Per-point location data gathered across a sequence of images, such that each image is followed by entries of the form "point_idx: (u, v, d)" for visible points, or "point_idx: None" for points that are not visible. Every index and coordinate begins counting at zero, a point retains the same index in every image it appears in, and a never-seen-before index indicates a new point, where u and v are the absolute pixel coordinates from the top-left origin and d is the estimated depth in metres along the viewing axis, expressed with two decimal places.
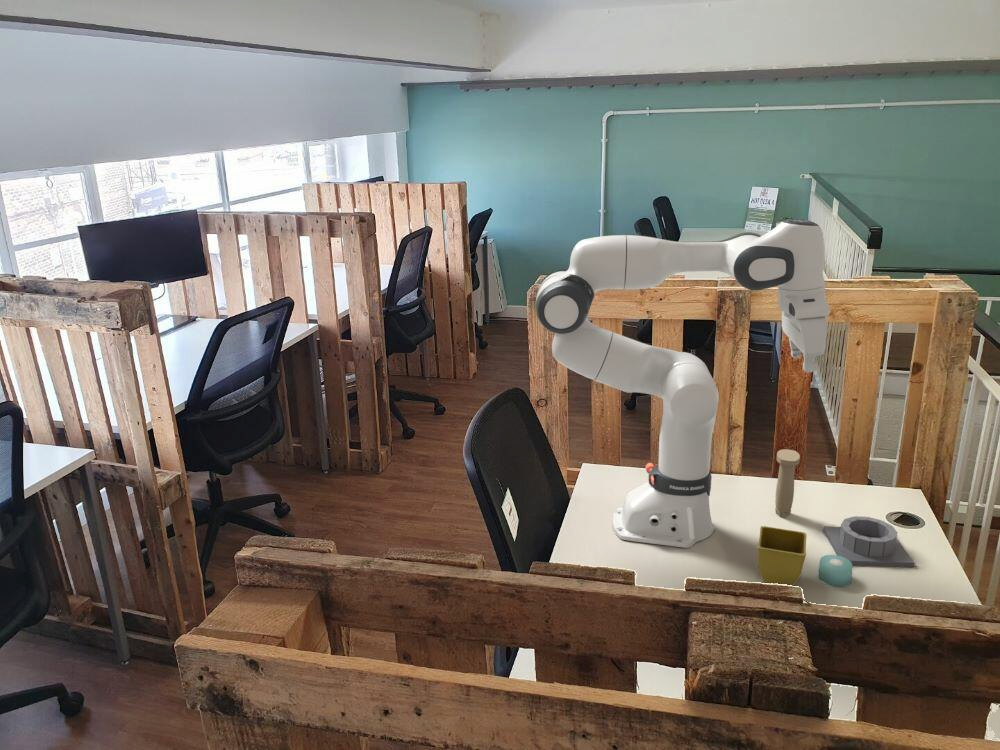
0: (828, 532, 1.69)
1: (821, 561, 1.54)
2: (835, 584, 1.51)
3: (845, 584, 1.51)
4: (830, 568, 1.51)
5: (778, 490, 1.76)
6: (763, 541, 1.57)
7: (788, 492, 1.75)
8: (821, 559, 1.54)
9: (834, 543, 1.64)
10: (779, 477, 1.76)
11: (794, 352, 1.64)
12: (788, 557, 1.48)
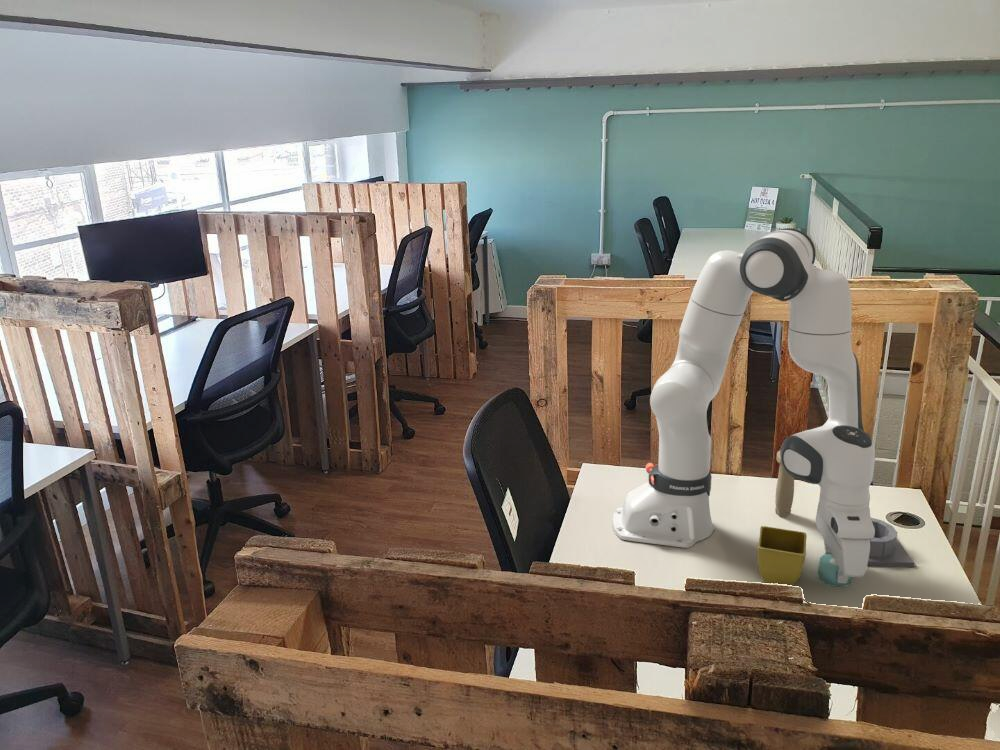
0: None
1: (821, 560, 1.54)
2: (835, 583, 1.51)
3: (845, 583, 1.51)
4: (830, 567, 1.51)
5: (778, 490, 1.76)
6: (763, 541, 1.57)
7: (788, 492, 1.75)
8: (821, 558, 1.54)
9: None
10: (779, 477, 1.76)
11: None
12: (788, 557, 1.48)
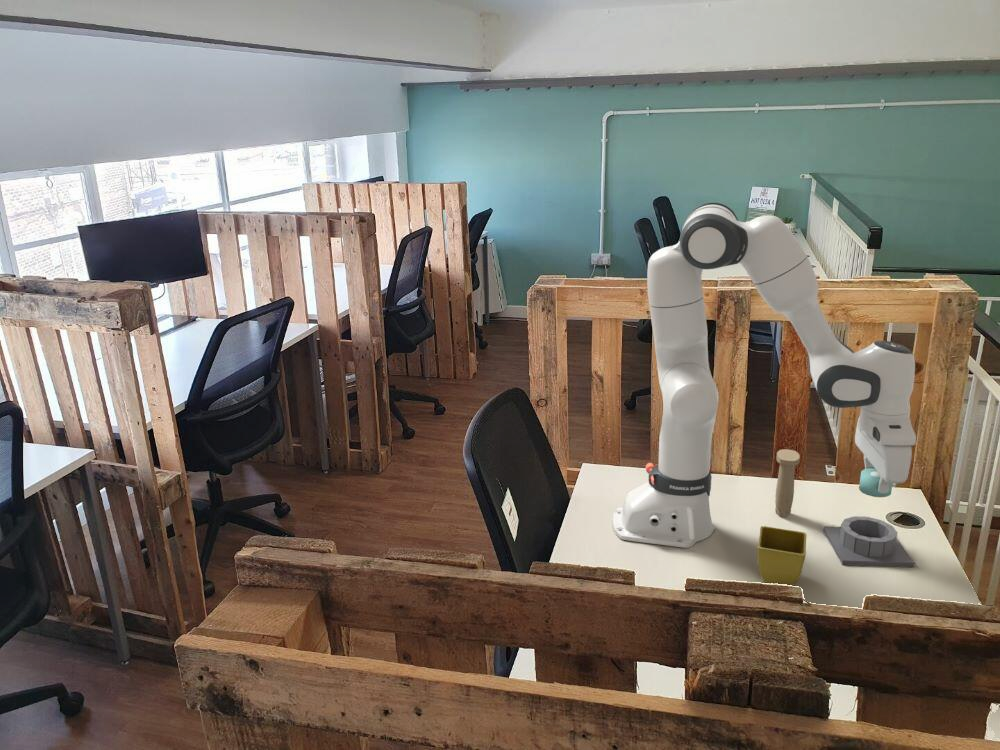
0: (828, 532, 1.69)
1: (862, 473, 1.59)
2: (876, 494, 1.57)
3: (886, 494, 1.57)
4: (871, 478, 1.57)
5: (778, 490, 1.76)
6: (763, 541, 1.57)
7: (788, 492, 1.75)
8: (862, 472, 1.60)
9: (834, 543, 1.64)
10: (779, 477, 1.76)
11: None
12: (788, 557, 1.48)
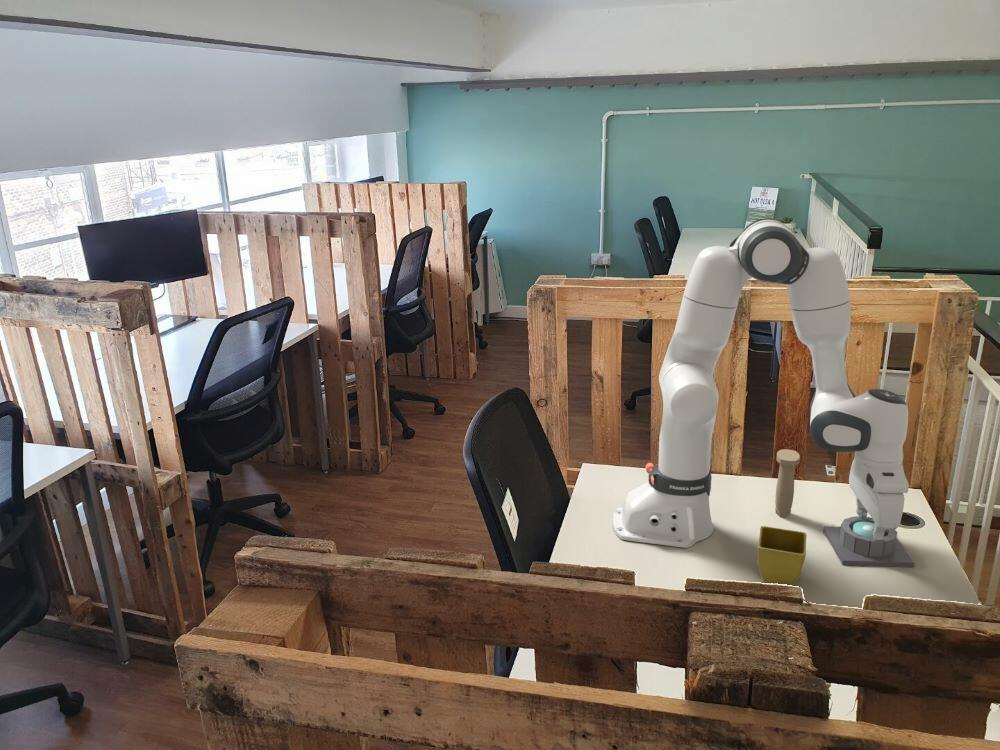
0: (828, 532, 1.69)
1: (854, 527, 1.63)
2: None
3: None
4: (863, 533, 1.61)
5: (778, 490, 1.76)
6: (763, 541, 1.57)
7: (788, 492, 1.75)
8: (854, 525, 1.64)
9: (834, 543, 1.64)
10: (779, 477, 1.76)
11: (860, 511, 1.66)
12: (788, 557, 1.48)
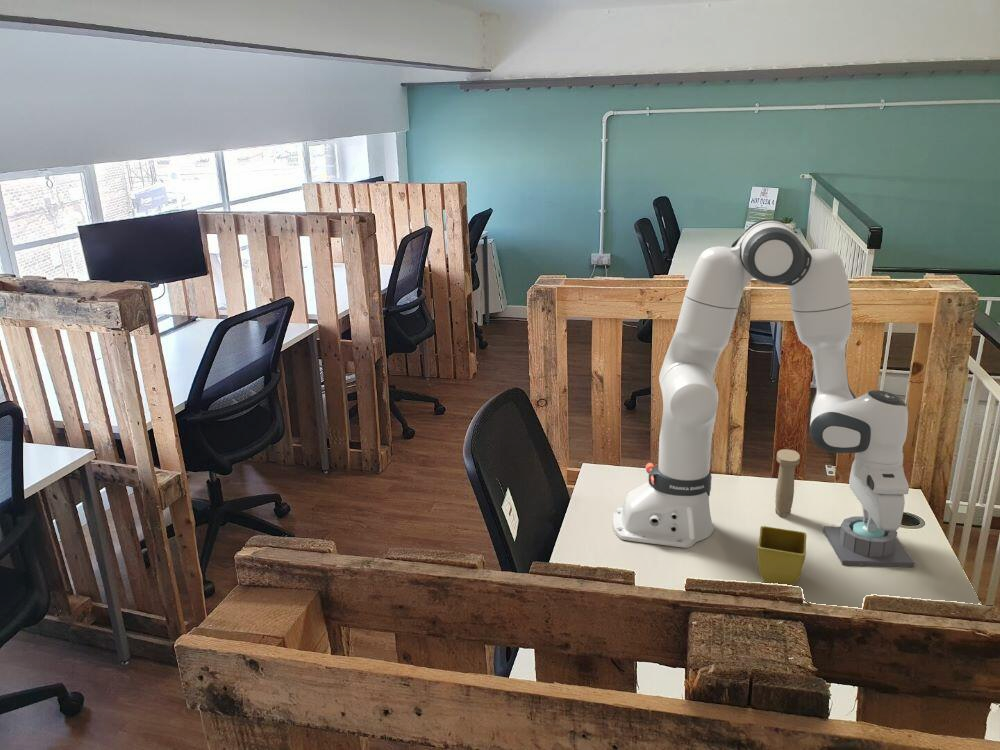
0: (828, 532, 1.69)
1: (854, 527, 1.63)
2: None
3: None
4: (863, 533, 1.61)
5: (778, 490, 1.76)
6: (763, 541, 1.57)
7: (788, 492, 1.75)
8: (854, 525, 1.64)
9: (834, 543, 1.64)
10: (779, 477, 1.76)
11: None
12: (788, 557, 1.48)
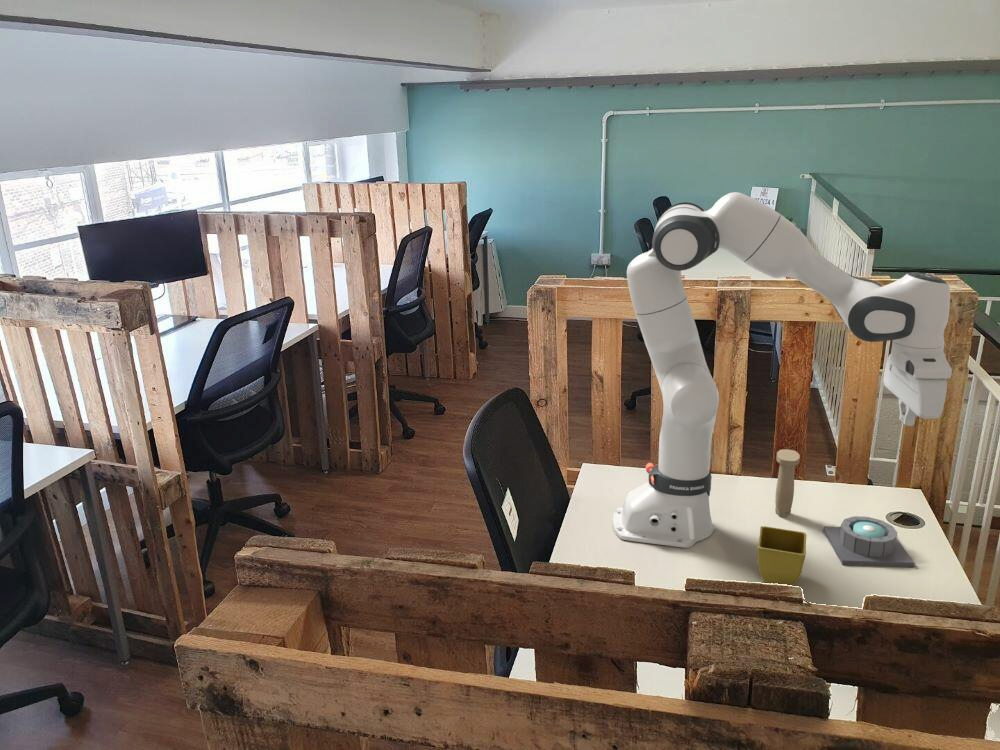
0: (828, 532, 1.69)
1: (855, 527, 1.63)
2: None
3: None
4: (863, 533, 1.61)
5: (778, 490, 1.76)
6: (763, 541, 1.57)
7: (788, 492, 1.75)
8: (854, 525, 1.64)
9: (834, 543, 1.64)
10: (779, 477, 1.76)
11: None
12: (788, 557, 1.48)
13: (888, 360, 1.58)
